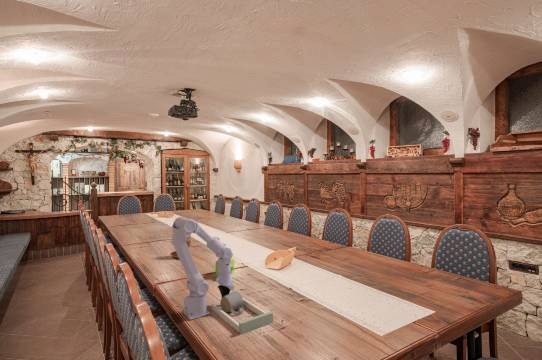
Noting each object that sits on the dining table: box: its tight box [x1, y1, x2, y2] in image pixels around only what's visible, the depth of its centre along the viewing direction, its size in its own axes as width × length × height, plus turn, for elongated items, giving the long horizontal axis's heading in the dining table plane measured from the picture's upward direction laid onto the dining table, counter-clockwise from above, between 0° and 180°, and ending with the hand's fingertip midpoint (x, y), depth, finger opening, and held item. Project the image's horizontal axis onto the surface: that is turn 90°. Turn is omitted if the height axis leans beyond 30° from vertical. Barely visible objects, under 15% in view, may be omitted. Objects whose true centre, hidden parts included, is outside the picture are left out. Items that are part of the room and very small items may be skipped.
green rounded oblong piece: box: [214, 257, 236, 278], centre depth 191 cm, size 18×10×10 cm, turn 168°
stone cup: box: [170, 237, 192, 259], centre depth 234 cm, size 15×12×15 cm
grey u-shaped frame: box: [211, 296, 274, 335], centre depth 136 cm, size 15×27×4 cm, turn 36°
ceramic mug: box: [220, 290, 245, 316], centre depth 141 cm, size 11×8×8 cm
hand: (225, 300), depth 148 cm, fingers closed
